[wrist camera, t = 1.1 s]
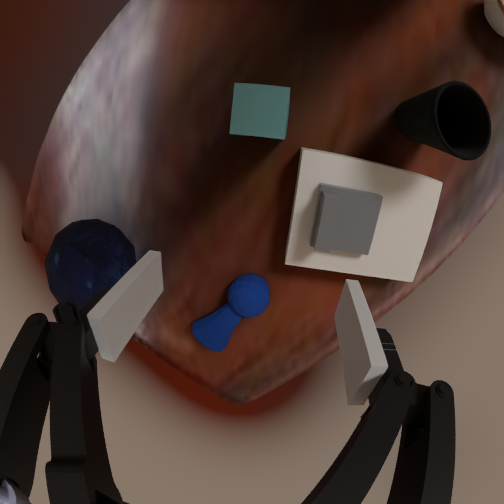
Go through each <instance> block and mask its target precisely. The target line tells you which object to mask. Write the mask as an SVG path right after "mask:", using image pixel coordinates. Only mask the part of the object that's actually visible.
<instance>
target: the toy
mask: <svg viewBox="0 0 504 504" xmlns="http://www.w3.org/2000/svg"><path fill="white" fill-rule="evenodd" d="M227 296H228V301H229V302H227V303H226V304H225V305H223V306H222V307H220V308H219V309H217V310H216V311H214V312H213V313H211V314H209V315H207V316H205V317H202V318H200V319H198V320H196V321H195V322H193V335H194V337H195V339H196V340H197V341H199V342H200V343H201V344H202V345H204V346H205V347H207V348H209V349H210V350H212V351H217V352H221V351H222V350H223V349H225V348H226V347H227V345H228V342H229V340H230V337H231V335H232V333H233V331H234V329H235V328H236V326H237V325H238V323H239V322H240V320H241V319H242V318H243V317H257V316H258V315H260V314H261V313H262V312H263V311H264V310H265V309H266V308H267V307H268V304H269V301H270V290H269V285H268V284H267V282H266V281H265V279H264V278H262V277H260V276H258V275H255V274H244V275H241V276H239V277H238V278H236V279H235V280H234V281H233V283H232V284H231V286H230V288H229V289H228V295H227Z"/></svg>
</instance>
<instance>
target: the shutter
mask: <svg viewBox="0 0 504 504" xmlns="http://www.w3.org/2000/svg"><path fill="white" fill-rule="evenodd" d="M382 199H383V197H382V196H381V195H380V194H375V193H371V192H366V191H361V190H356V189H351V188H346V187H341V186H336V185H330V184H325V183H320V186H319V192H318V198H317V204H316V209H315V215H314V220H313V226H312V231H311V236H310V241H309V243H310V246H311V247H314V251H320V252H327V253H329V250H330V249H331V250H337V251H344V252H350V253H357V254H363V255H368V254H369V250H370V247H371V243H372V240H373V236H374V232H375V228H376V224H377V221H378V216H379V212H380V208H381V204H382Z"/></svg>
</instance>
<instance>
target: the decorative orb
mask: <svg viewBox="0 0 504 504" xmlns="http://www.w3.org/2000/svg"><path fill="white" fill-rule="evenodd" d="M135 264H136V259H135V250H134V246H133V245H132V244H131V243H130V241H129V240H128V239H127V238H126V237H125V236H124V234H123V233H122V232H121V231H120V230H119V229H118V228H117V227H115V226H114V225H112V224H109V223H106V222H104V221H101V220H99V219H90V220H80V221H76V222H72V223H71V224H69V225H68V226H66V227H65V228H64V229H63V230H61V231H60V232H59V233H57V234H56V235H55V238H54V240H53V242H52V245H51V247H50V250H49V252H48V255H47V257H46V260H45V267H46V272H47V278H48V283H49V288H50V291H51V292H52V294H53V295H54V297H55V298H56V299H57V301H58V303H61V302H64V301H73V302H75V303H76V304H77V305H78V308H79V312H80V311H81V310H82V309H83V308H84V307H85V306H86V305H87V304H88V303H89V301H91V299H92V298H93V297H95V295H96V294H97V293H98V292H99V291H100V290H102V289H104V288H106V287H107V286H111V287H113V286H114V285H115V284H116V283H117V282H118V281H119V280H120V279H121V278H122V277H123V276H124V275H125V274H126V273H127V272H128V271H129V270H130V269H131V268H132V267H133V266H134V265H135Z"/></svg>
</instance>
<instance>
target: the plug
mask: <svg viewBox="0 0 504 504" xmlns="http://www.w3.org/2000/svg"><path fill="white" fill-rule="evenodd" d="M289 105H290V88H289V87H281V86H272V85H261V84H248V83H235V85H234V94H233V104H232V113H231V123H230V134H237V135H248V136H258V137H267V138H275V139H283V140H284V139H285V138H286V131H287V123H288V114H289Z"/></svg>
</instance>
